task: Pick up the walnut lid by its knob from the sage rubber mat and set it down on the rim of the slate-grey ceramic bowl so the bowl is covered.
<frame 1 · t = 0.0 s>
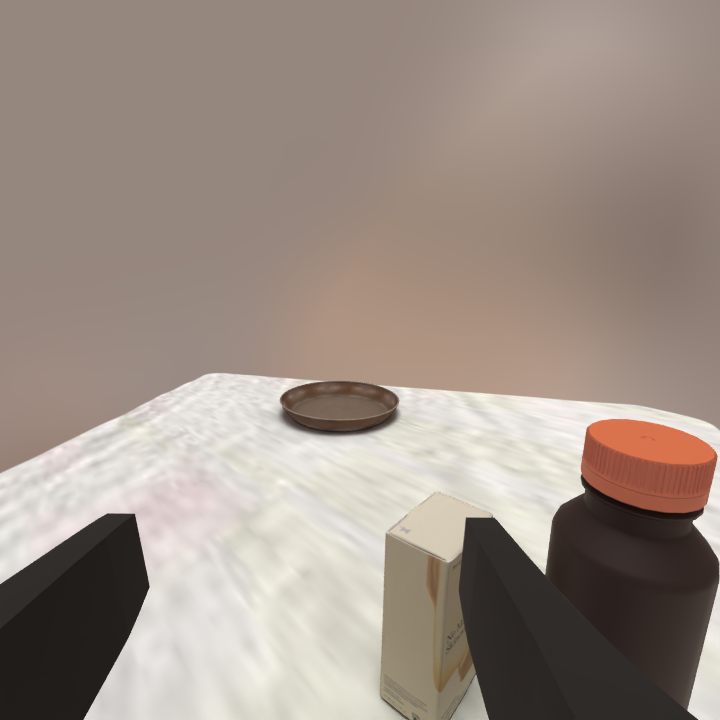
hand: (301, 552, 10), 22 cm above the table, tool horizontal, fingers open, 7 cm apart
plant saucer: (340, 415, 77), on the table
skincare box: (431, 683, 29), on the table
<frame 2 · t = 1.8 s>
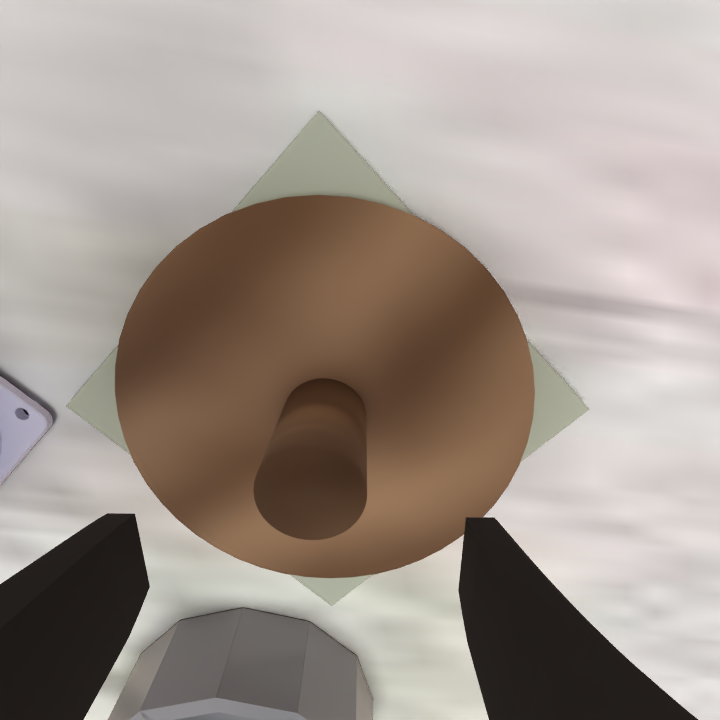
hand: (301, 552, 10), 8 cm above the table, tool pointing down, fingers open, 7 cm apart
lid: (326, 407, 16), point 1 cm above the table, touching mat
bowl: (253, 698, 23), on the table
mat: (327, 400, 17), on the table
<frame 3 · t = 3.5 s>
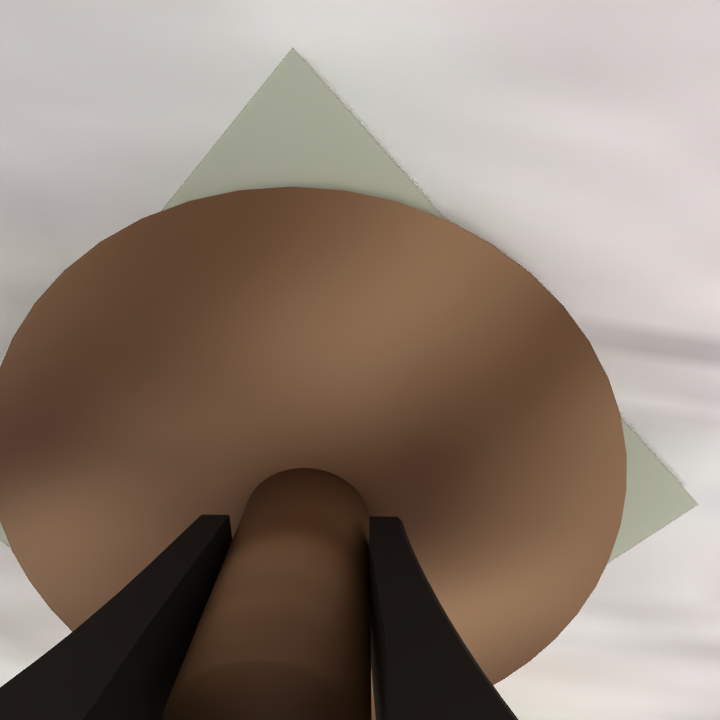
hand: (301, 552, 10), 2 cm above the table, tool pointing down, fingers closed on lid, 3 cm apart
lid: (311, 500, 11), point 1 cm above the table, touching gripper, mat
mat: (314, 486, 12), on the table
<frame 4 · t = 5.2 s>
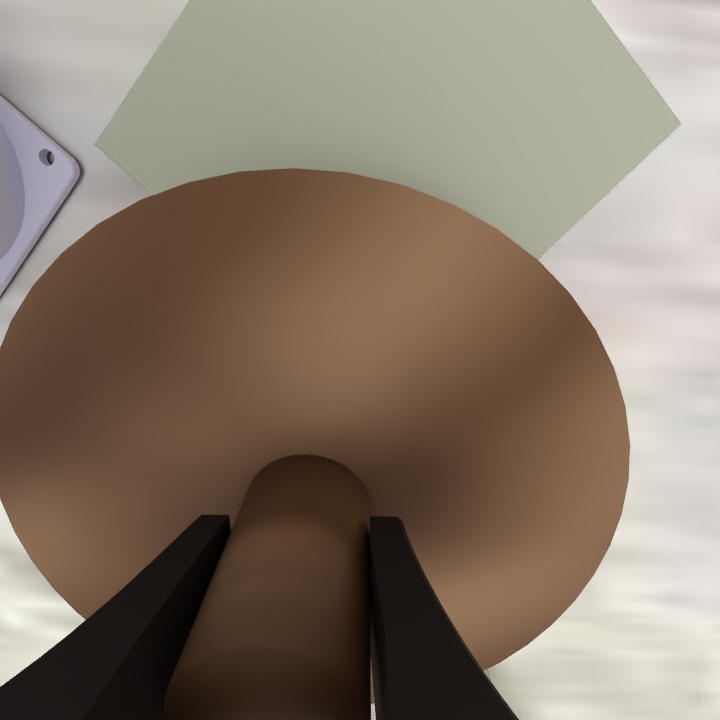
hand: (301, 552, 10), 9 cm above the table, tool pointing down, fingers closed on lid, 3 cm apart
lid: (312, 486, 11), point 7 cm above the table, touching gripper
mat: (383, 136, 15), on the table
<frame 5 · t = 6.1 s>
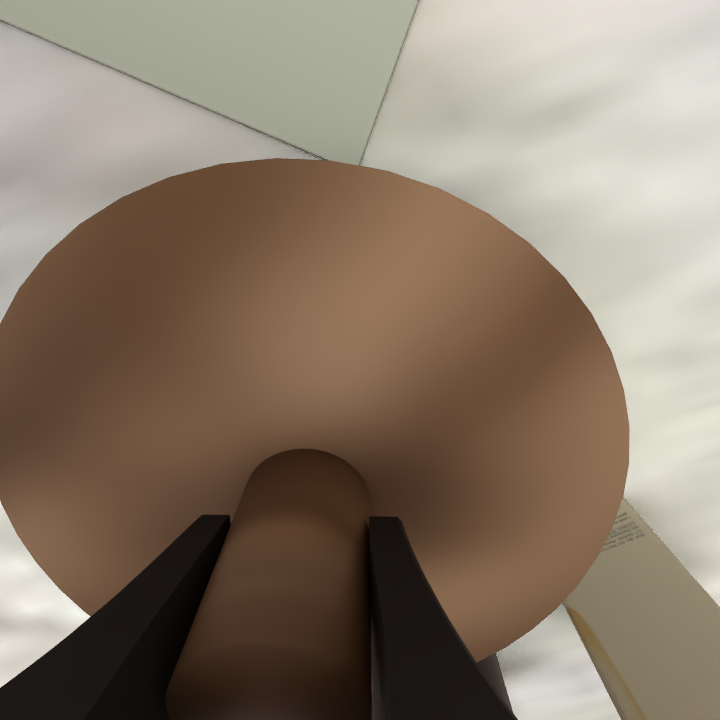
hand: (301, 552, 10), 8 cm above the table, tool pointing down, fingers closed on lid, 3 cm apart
bottle: (423, 649, 22), on the table
skincare box: (597, 561, 20), on the table
lid: (311, 479, 11), point 6 cm above the table, touching gripper
when the fingers open (7 cm above the table, at t = 7.0 s): lid stays where it is, resting on bowl.
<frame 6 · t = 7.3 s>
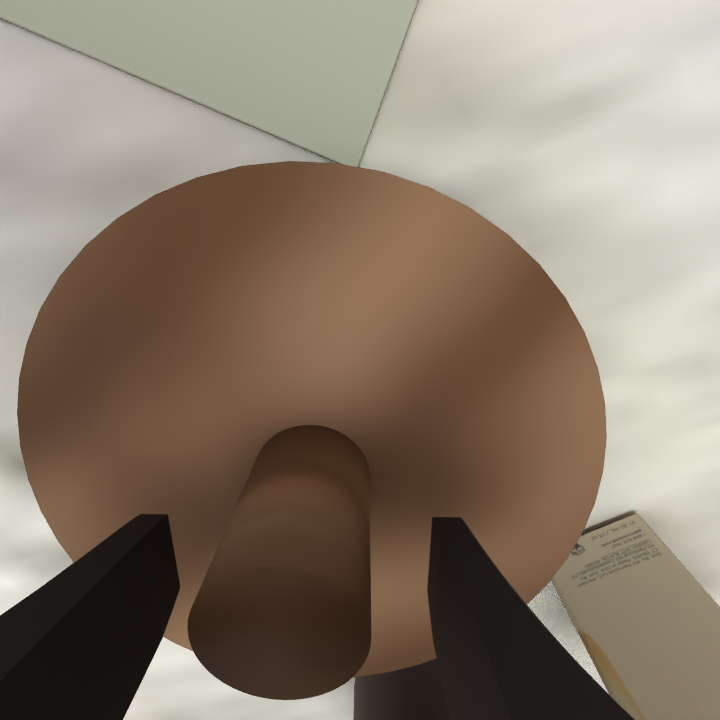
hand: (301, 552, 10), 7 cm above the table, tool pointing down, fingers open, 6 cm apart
bottle: (426, 668, 21), on the table
skincare box: (609, 578, 19), on the table
lid: (315, 459, 12), point 4 cm above the table, touching bowl
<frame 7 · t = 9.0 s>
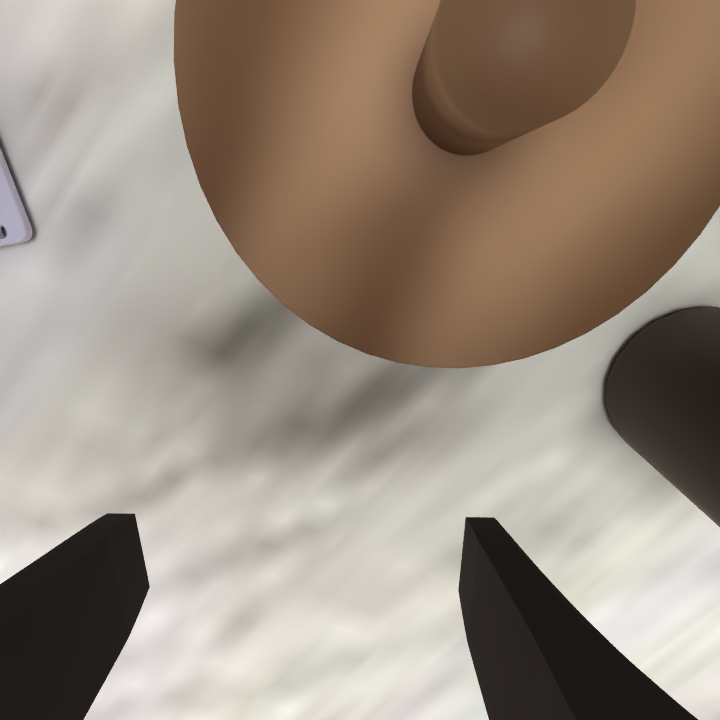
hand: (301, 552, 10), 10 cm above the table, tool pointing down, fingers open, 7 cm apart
bottle: (678, 380, 19), on the table
lid: (464, 97, 12), point 4 cm above the table, touching bowl
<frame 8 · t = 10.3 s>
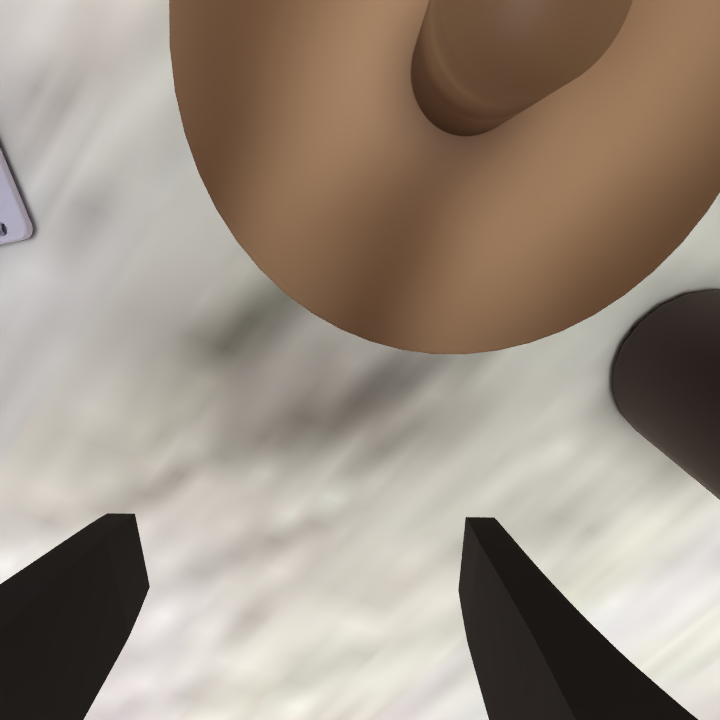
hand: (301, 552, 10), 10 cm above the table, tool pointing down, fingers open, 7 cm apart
bottle: (686, 365, 19), on the table
lid: (464, 78, 12), point 4 cm above the table, touching bowl
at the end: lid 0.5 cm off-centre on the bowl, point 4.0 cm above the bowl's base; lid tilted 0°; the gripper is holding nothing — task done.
